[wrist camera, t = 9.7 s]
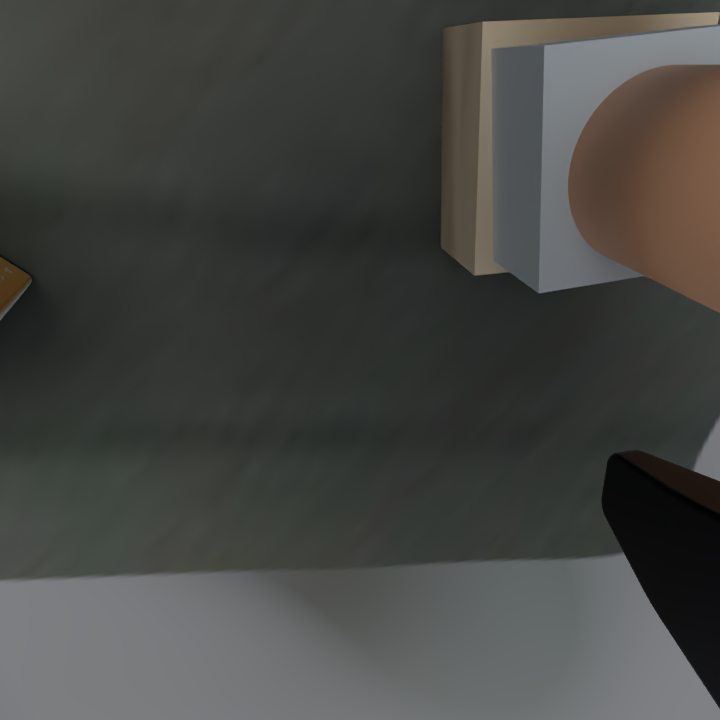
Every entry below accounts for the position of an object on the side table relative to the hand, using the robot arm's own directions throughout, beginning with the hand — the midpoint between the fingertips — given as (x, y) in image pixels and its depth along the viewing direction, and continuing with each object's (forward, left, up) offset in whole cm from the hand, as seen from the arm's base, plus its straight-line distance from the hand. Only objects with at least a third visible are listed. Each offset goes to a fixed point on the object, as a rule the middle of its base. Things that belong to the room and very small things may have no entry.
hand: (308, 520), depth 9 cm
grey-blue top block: (+5, +8, -10) cm, 14 cm away
